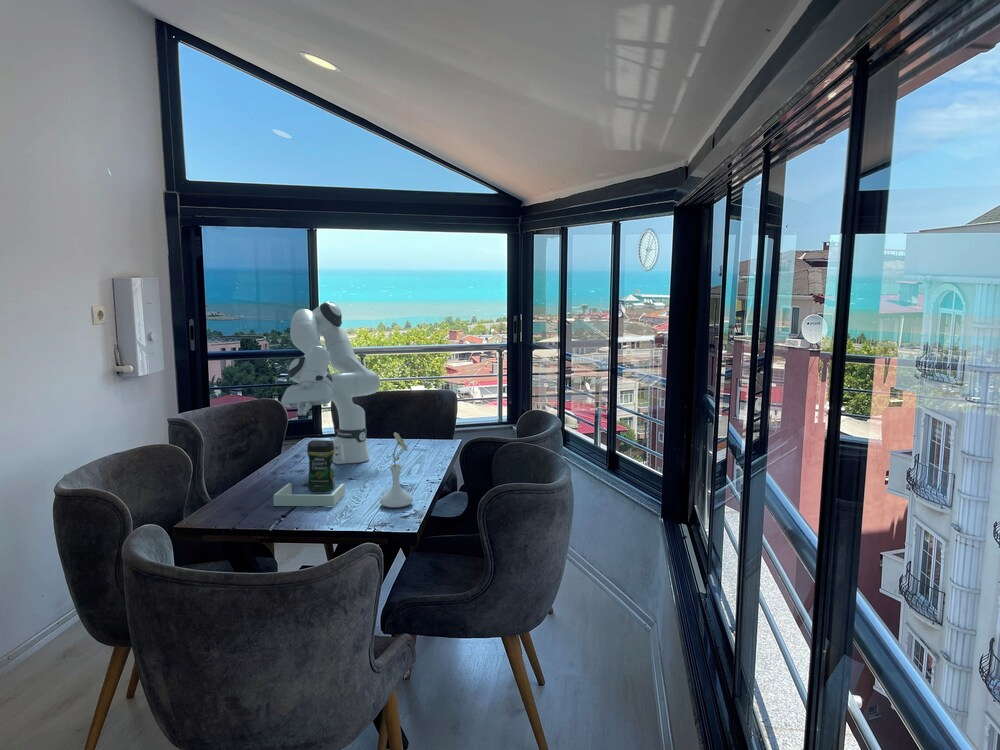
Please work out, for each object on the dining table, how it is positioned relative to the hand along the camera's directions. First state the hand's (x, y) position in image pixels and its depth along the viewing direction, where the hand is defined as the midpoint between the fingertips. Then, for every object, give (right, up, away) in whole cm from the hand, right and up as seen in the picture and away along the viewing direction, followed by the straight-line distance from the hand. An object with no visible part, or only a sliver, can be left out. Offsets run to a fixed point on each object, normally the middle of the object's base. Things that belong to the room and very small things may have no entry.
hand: (301, 414), depth 242 cm
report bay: (+7, -29, -12) cm, 33 cm away
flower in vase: (+38, -30, -17) cm, 51 cm away
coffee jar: (+7, -28, +1) cm, 29 cm away
